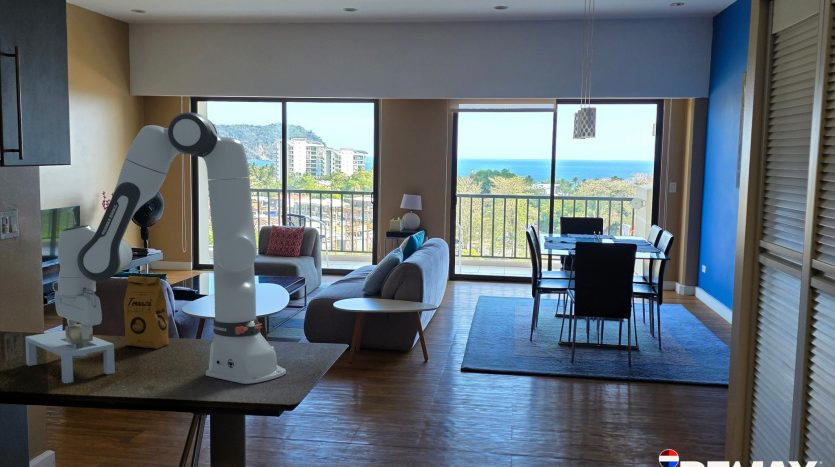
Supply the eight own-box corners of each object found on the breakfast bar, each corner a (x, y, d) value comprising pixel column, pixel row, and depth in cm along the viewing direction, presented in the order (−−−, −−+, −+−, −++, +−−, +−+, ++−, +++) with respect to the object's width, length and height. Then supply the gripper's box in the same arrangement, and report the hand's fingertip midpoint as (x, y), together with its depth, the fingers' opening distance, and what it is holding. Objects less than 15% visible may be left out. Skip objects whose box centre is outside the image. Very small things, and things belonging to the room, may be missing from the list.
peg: (93, 356, 189) (92, 326, 188) (74, 360, 185) (73, 329, 184) (85, 353, 192) (84, 323, 191) (66, 357, 188) (65, 326, 188)
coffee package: (154, 351, 213) (152, 279, 211) (120, 348, 216) (117, 277, 214) (174, 343, 222) (172, 275, 220) (141, 340, 226) (139, 273, 224)
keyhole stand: (114, 372, 190) (113, 344, 190) (65, 383, 181) (64, 353, 180) (73, 355, 207) (72, 329, 207) (26, 364, 198) (25, 336, 197)
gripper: (107, 289, 183) (109, 341, 184) (73, 280, 196) (75, 329, 197) (82, 292, 178) (84, 345, 179) (49, 283, 191) (51, 332, 192)
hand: (79, 336), depth 188 cm, fingers closed on peg, 5 cm apart
